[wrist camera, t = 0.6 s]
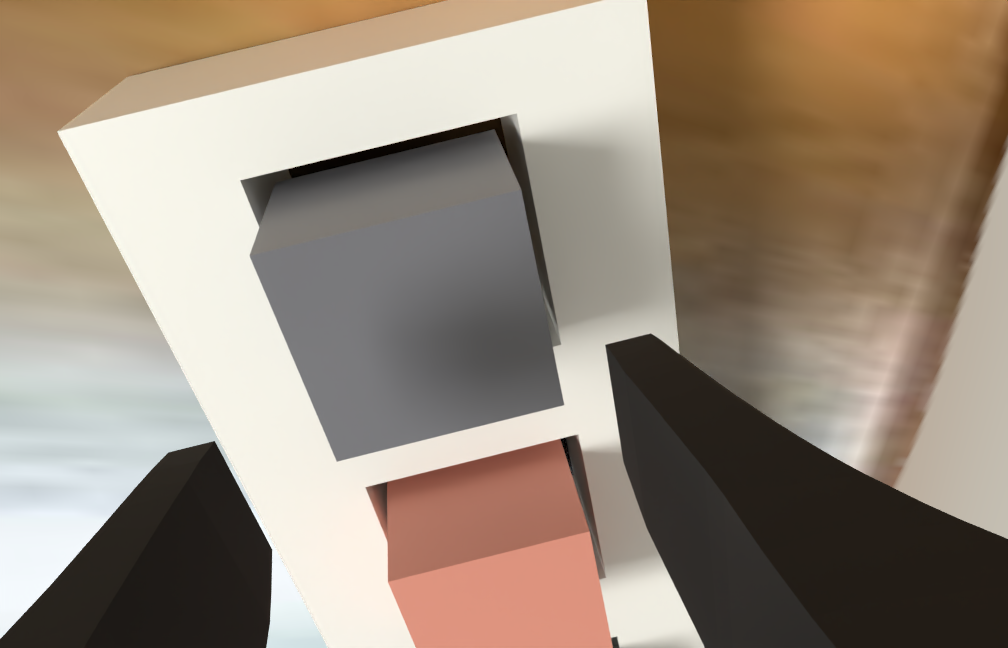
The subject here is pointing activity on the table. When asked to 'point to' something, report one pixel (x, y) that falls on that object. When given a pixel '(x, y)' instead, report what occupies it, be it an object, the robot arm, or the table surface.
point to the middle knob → (495, 555)
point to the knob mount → (369, 124)
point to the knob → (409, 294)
